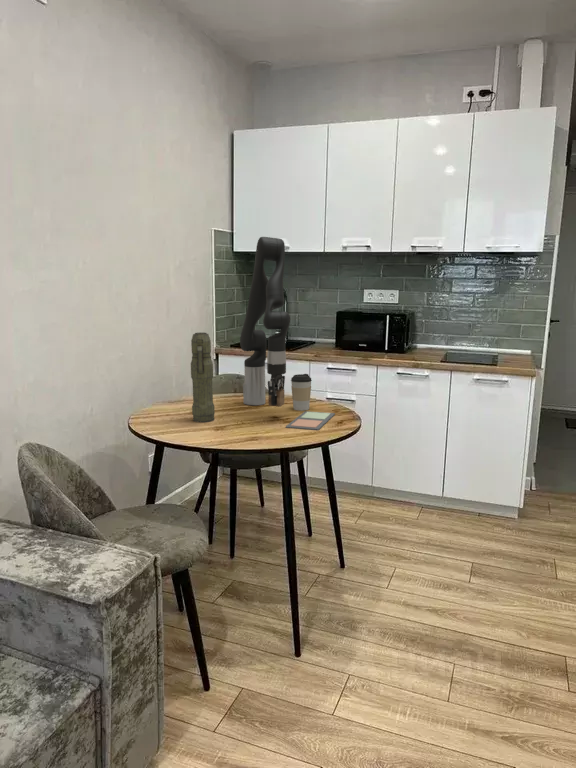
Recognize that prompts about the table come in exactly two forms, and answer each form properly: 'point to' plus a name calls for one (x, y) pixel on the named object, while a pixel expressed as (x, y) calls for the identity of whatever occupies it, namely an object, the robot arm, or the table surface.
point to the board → (311, 420)
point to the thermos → (202, 378)
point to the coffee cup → (301, 391)
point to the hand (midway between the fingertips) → (276, 403)
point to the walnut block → (279, 398)
